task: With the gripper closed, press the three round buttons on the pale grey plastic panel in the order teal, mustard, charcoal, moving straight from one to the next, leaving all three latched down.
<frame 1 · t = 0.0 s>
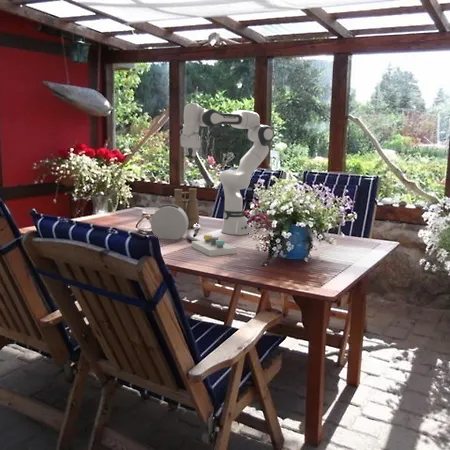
hand: (190, 155, 309), 48 cm above the table, fingers open, 8 cm apart
binoculars: (184, 227, 343), on the table
button teal: (220, 245, 279), point 4 cm above the table, slide at 0.0 cm
panel: (213, 249, 285), on the table
grey round slab: (169, 237, 312), on the table
button charcoal: (213, 242, 285), point 4 cm above the table, slide at 0.0 cm
button mustard: (207, 239, 291), point 4 cm above the table, slide at 0.0 cm
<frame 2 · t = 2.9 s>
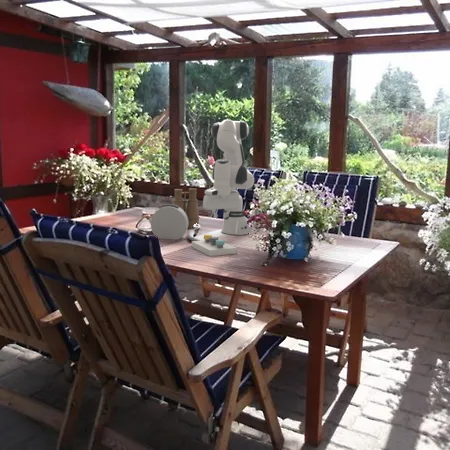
hand: (221, 217, 276), 19 cm above the table, fingers open, 5 cm apart
nothing on the table moved.
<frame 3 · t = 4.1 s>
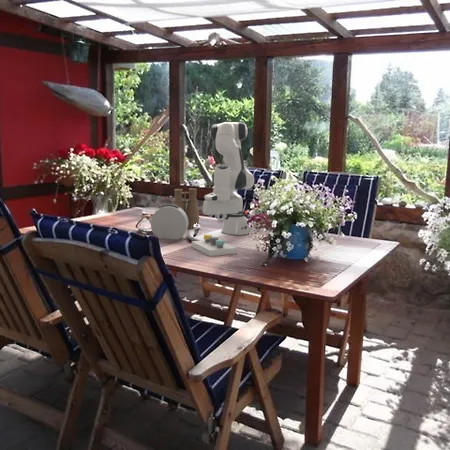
hand: (220, 222, 276), 16 cm above the table, fingers closed
nothing on the table moved.
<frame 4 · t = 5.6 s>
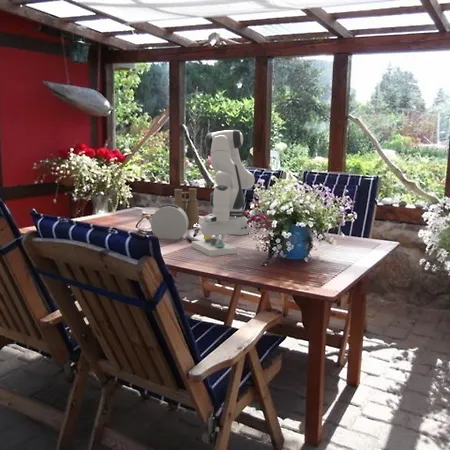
hand: (219, 242, 278), 5 cm above the table, fingers closed, pressing on button teal
button teal: (219, 247, 279), point 3 cm above the table, slide at 1.2 cm, touching gripper
everything else where it was.
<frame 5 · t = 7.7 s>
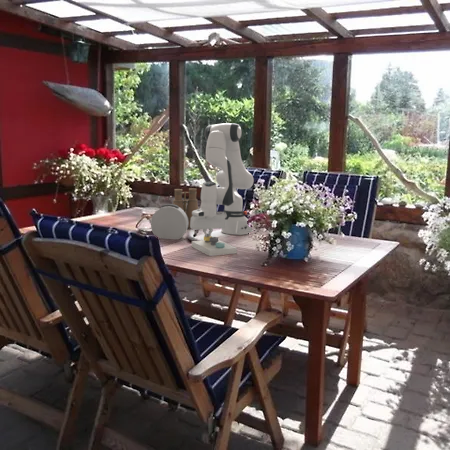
hand: (207, 236, 290), 6 cm above the table, fingers closed, pressing on button mustard
button teal: (219, 247, 279), point 3 cm above the table, slide at 1.5 cm
button mustard: (207, 241, 291), point 3 cm above the table, slide at 0.8 cm, touching gripper
everything else where it was.
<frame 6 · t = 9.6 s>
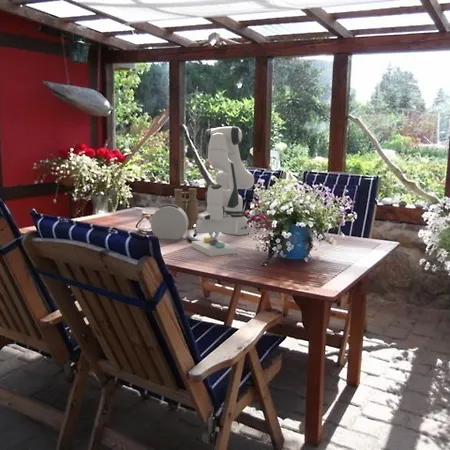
hand: (213, 240, 284), 5 cm above the table, fingers closed, pressing on button charcoal
button charcoal: (213, 244, 285), point 3 cm above the table, slide at 1.3 cm, touching gripper
button mustard: (207, 242, 291), point 3 cm above the table, slide at 1.5 cm
everything else where it was.
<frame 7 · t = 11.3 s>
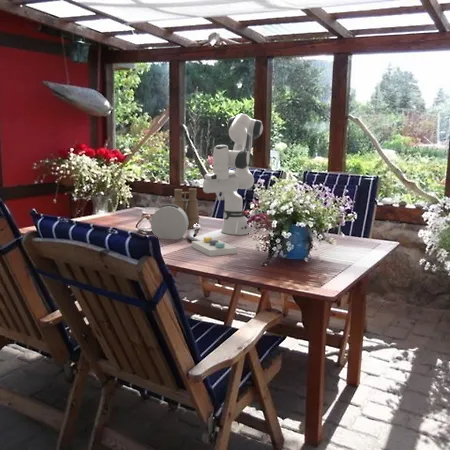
hand: (220, 200, 290), 26 cm above the table, fingers closed
button charcoal: (213, 244, 285), point 3 cm above the table, slide at 1.5 cm
everything else where it was.
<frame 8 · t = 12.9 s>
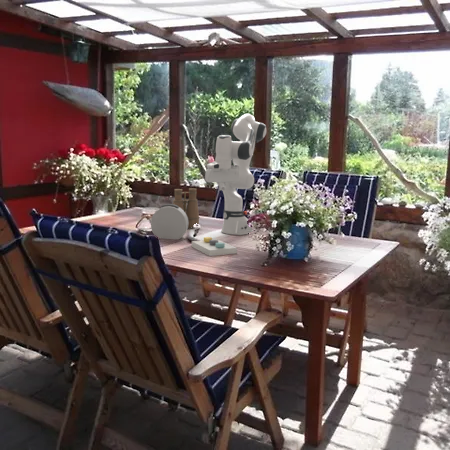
hand: (222, 190, 292), 31 cm above the table, fingers closed
nothing on the table moved.
at the end: button teal slide at 1.5 cm; button mustard slide at 1.5 cm; button charcoal slide at 1.5 cm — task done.
